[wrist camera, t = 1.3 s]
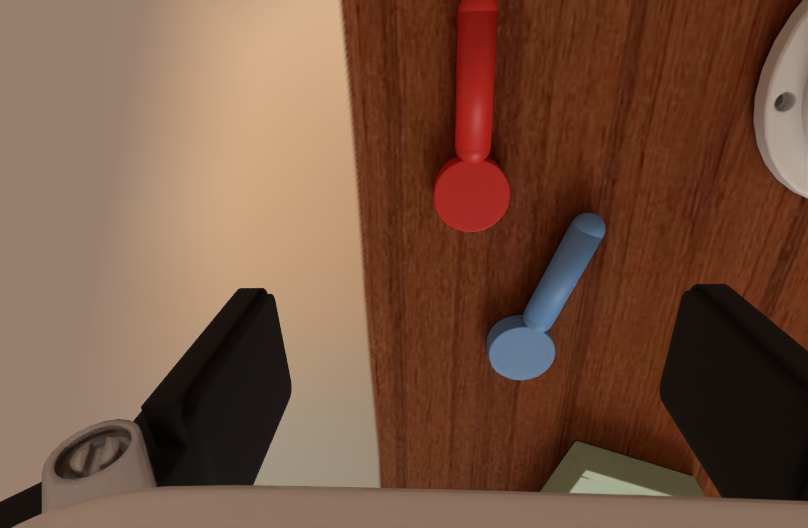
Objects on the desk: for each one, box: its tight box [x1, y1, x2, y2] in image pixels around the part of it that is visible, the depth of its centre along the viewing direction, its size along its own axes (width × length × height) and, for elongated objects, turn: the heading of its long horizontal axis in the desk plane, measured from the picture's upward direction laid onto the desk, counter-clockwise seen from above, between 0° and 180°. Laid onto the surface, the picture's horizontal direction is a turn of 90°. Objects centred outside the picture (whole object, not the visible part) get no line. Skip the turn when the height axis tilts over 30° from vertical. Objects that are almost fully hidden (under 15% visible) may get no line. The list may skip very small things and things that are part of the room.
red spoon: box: [433, 0, 510, 232], centre depth 23 cm, size 11×4×2 cm, turn 2°
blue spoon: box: [487, 213, 605, 380], centre depth 27 cm, size 11×4×2 cm, turn 162°
